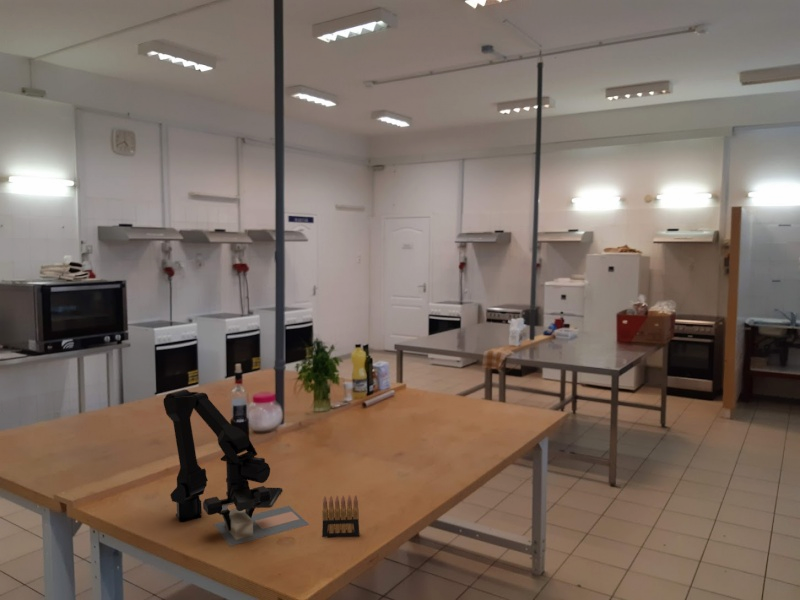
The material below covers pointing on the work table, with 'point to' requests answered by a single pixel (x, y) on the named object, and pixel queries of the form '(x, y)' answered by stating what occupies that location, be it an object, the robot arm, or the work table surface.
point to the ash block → (240, 524)
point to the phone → (274, 495)
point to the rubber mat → (266, 524)
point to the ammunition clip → (340, 518)
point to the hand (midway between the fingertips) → (238, 527)
